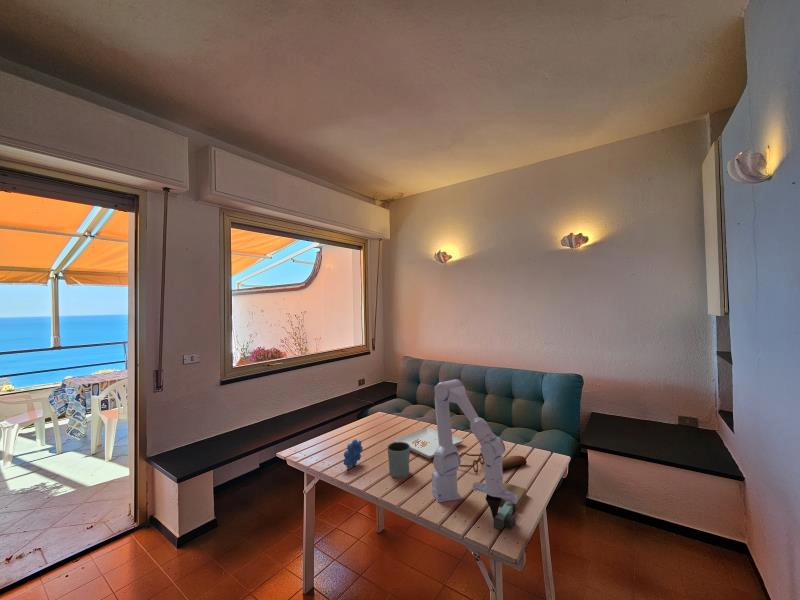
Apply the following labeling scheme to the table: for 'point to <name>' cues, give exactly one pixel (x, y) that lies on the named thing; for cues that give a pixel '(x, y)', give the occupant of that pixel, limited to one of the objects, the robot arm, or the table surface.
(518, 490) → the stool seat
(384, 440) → the table surface
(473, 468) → the glasses
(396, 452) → the green cup
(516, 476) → the table surface
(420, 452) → the square plate
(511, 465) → the sunglasses case
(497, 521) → the stool leg
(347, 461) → the grapes
